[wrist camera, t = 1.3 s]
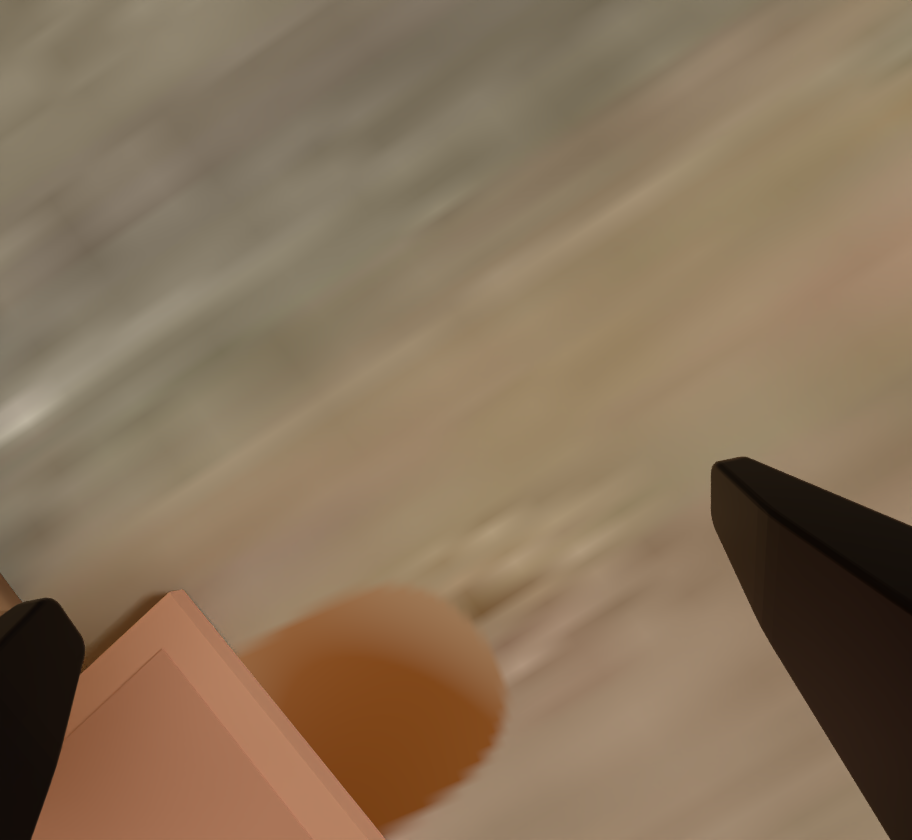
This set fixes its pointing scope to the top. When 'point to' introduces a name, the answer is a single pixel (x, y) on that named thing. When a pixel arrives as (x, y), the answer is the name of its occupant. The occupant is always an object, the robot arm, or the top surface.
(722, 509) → the robot arm
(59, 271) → the top surface
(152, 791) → the trivet
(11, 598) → the walnut block
